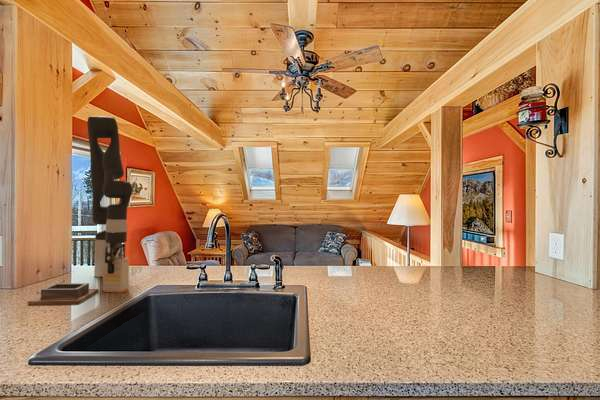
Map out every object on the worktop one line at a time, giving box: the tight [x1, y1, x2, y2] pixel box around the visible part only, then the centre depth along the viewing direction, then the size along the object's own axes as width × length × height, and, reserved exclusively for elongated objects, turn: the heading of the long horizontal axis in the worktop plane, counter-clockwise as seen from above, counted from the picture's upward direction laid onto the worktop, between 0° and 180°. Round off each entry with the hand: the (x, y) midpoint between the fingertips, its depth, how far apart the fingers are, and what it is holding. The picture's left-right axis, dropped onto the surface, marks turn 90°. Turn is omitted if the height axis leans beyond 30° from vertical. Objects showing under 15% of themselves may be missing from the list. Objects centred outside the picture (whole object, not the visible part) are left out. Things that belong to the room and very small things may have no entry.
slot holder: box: [27, 282, 99, 306], centre depth 128 cm, size 16×16×4 cm
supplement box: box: [102, 257, 130, 294], centre depth 138 cm, size 8×5×13 cm, turn 84°
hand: (115, 271), depth 138 cm, fingers open, 8 cm apart
